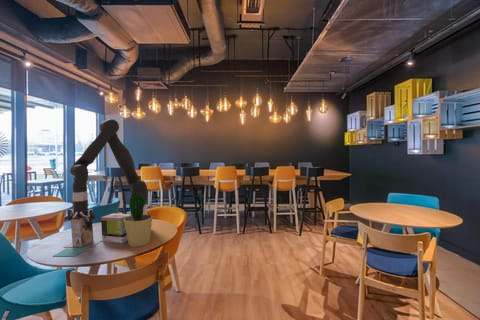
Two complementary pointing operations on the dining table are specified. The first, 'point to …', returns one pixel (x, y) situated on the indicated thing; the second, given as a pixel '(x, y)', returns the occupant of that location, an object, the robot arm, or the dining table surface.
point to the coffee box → (81, 231)
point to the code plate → (84, 245)
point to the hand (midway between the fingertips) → (81, 227)
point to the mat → (70, 252)
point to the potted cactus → (138, 222)
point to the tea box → (114, 228)
